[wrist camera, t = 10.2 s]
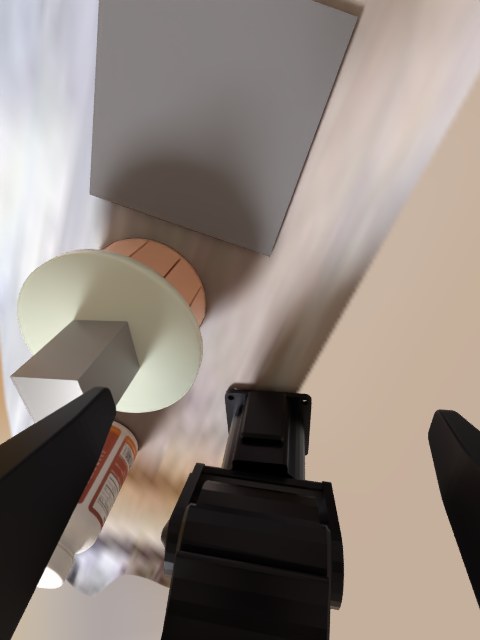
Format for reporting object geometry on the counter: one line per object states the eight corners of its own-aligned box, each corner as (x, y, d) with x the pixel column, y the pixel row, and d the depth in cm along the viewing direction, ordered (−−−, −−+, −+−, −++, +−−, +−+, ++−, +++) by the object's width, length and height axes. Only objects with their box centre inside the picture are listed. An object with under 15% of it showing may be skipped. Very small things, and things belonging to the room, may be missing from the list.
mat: (270, 254, 20) (269, 256, 20) (93, 192, 20) (89, 194, 20) (356, 19, 14) (357, 16, 14) (107, -73, 14) (102, -77, 14)
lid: (212, 408, 20) (187, 490, 16) (62, 398, 22) (2, 470, 18) (189, 248, 15) (143, 302, 11) (-3, 250, 17) (-112, 298, 12)
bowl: (211, 346, 24) (192, 395, 20) (108, 342, 26) (70, 387, 21) (198, 237, 20) (171, 269, 16) (76, 238, 22) (22, 268, 17)
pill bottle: (65, 430, 32) (-32, 560, 23) (100, 403, 29) (6, 538, 20) (115, 466, 34) (45, 600, 25) (153, 445, 31) (90, 586, 22)
